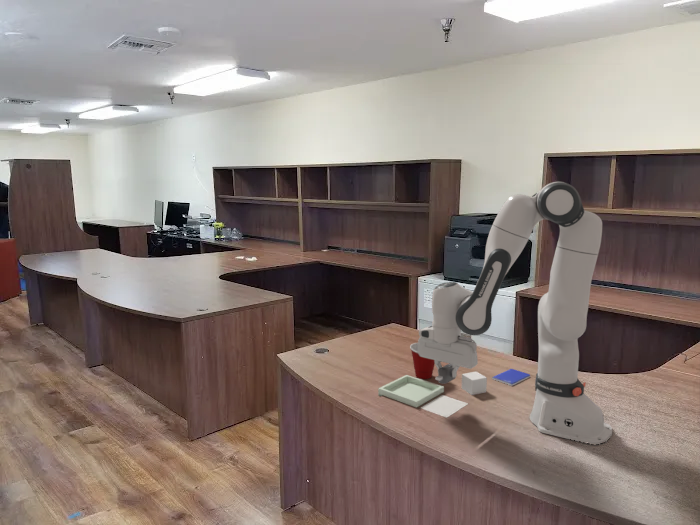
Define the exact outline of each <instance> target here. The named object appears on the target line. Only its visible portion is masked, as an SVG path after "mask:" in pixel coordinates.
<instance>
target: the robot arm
mask: <svg viewBox="0 0 700 525" xmlns="http://www.w3.org/2000/svg"><path fill="white" fill-rule="evenodd" d="M582 202H583V201H582V198H581V196H580V194H579V192H578V190H577V189H576V188H575V187H574V186H573V185H571V184H569V183H568V182H564V181H553V182H550V183H547V184H546V185H544V186H543V187H542V188H541V189H539V190H538V191H537V192H535V193H534V194H533V195H531V196H529V195H526V194H521V193H517V194H512V195H510V196H509V197H508V198H507V199H506V201H505V202H504V203H503V205H502V206H501V208H500V209H499V211H498V213H497V215H496V217H495V218H494V221H493V223H492V225H491V228H490V230H489V232H488V233H489V234H488V235H487V236H488V237H487V239H486V244H485V250H484V251H485V253H484V263H483V267H482V270H481V273H480V276H479V278H478V280H477V282H476V284H475V287H474V289H473V290H470V289H467V288H465V287H463V286H461V285H460V284H459V282H455V281H447V282H443V283H440V284H438V285H436V286H435V287H434V289H433V291H432V295H431V296H432V298H431V313H432V322H431V323H432V324H431V325H428V326H426V327H423V328H421V329H419V330H418V336H419V338H418V339H417V343H418V354H419V355H420V356H421V357H424V358H428V359H432V360H434V363H435V364H434V366H436V368H437V370H438V369H440V368H441V367H443V365H442V363H445V364H452V367H453V368H454V369H453V370H452V371H450V377H453V378H455V377H457V372H458V370H459V368H460V367H461V368H465V369H470V370H471V369H473V368H475V367H476V366H478V364H479V363H478V362H479V360H478V353H477V342H476V341H475V340H474V339H473V338H471V337H465V336H462V332H463V333H465V334H466V335H469V336H479V335H483V334H485V333H486V332H487V331H488V330H489V329H490V328H491V324H492V319H493V318H492V317H493V316H492V307H493V304H494V302H495V299H496V297H497V294H498V293H499V290H500V288H501V285H502V283H503V281H504V279H505V277H506V275H507V274H508V273H509V271H510V269H511V267H512V266H513V265H514V263H515V262H516V261H517V259H518V258H519V256H520V255H521V253H522V252H523V250H524V248H525V247H526V245H527V243H528V242H529V239H530V237H531V234H532V232H533V230H534V228H535V227H536V225H537V224H538V223H539V222H541V221H543V220H547V221H551V222H553V223H554V224H556V225H558V227H559V235H558V241H557V244H556V248H555V251H554V256H553V259H552V264H551V268H550V272H549V274H550V275H549V284H548V291H547V292H546V293H544V294H543V295H542V296H541V297H540V299H539V301H538V305H537V333H538V334H537V336H538V338H537V339H538V359H537V360H538V361H537V373H536V374H535V381H534V388H535V389H534V391H535V397H534V401H533V406H532V409H531V412H530V414H529V420H530V421H531V423H532V424H533V425H535V427H537V429H538V431H539V432H540V433H542V434H547V435H550V436H555V437H558V438H563V439H566V440H570V439H571V440H570V441H574V440H575V442H579V441H581V442H580V443H583V442H588V443H591V444H599V443H602V442H605V441H606V442H608V441H609V440H610V439H611V437H612V435H613V427H612V426H611V424H610V423H607V422H605V417H604V412H603V410H602V408H601V407H600V406H599V405H598V404H596V403H595V402H594V401H593V399H591V398H590V397H589V396H588V395H587V394H585V393H584V392H585V387H586V382H585V381H584V382H583V383H582V382H581V381H580V379H579V377H578V376H579V375H578V374H579V364H580V363H579V361H580V351H579V342H578V340H579V338H580V337H581V336H582V335H584V333H585V332H586V330H587V320H588V319H587V317H588V312H589V306H590V305H589V303H590V294H591V286H592V281H593V280H592V279H593V275H594V272H595V269H596V264H597V260H598V257H599V253H600V248H601V245H602V244H601V243H602V235H603V221H602V219H601V217H600V216H599V215H597V214H596V213H594V212H593V211H592V212H591V211H588V210H585V208H584V206H583V203H582ZM455 379H456V378H455ZM610 436H611V437H610ZM609 438H610V439H609ZM608 439H609V440H608ZM607 440H608V441H607ZM606 442H605V443H606ZM591 444H590V445H591ZM599 445H600V444H599Z"/></svg>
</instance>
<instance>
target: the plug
mask: <svg viewBox="0 0 700 525" xmlns="http://www.w3.org/2000/svg"><path fill="white" fill-rule="evenodd" d="M453 369H454V368H453V367H452V364H449V363H446V365H442V367H441V368H440V369H438V368H437V374H438V376H436V377H435V379H434V380H436V381H438V383H439V384H440V385H441V384H443V385H444V384H448V383H450V382H451V381H453V380H455V379H456V377H457V376H456V377H455V378H453V377H450V371H452V370H453Z"/></svg>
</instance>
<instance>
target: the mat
mask: <svg viewBox="0 0 700 525" xmlns="http://www.w3.org/2000/svg"><path fill="white" fill-rule="evenodd" d="M467 405H469V403H468V402H465V401H462V400H459V399H456V398H453V397H450V396H447V395H444V394H440V395H439V396H437V397H435V399H432V400H430V401H428V402H427V403H426V404H423V405H421V407H420V409H422V410H424V411H427V412H430V413H433V414H436V415H438V416H441V417H444V418H449V417H451V416H452V415H453V414H455V413H457V412H458V411H460V410H462V409H463V408H464V407H466V406H467Z"/></svg>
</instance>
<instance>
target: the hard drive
mask: <svg viewBox="0 0 700 525" xmlns="http://www.w3.org/2000/svg"><path fill="white" fill-rule="evenodd" d="M530 377H531V374H530V373H527V372H525V371H524V372H523V371H520V370H518V369H513V368H509V369H507V370H505V371H503V372H500V373H498V374H497V375H494V376H492V377H491V380H492V379H493V381H495V380H496V381H495V382H498V381H499V382H498V383H501V382H502V383H501V384H504V383H505V384H504V385H507V384H508V386H510V387H512V386H515V385H517V384H519V383H521V382H522V381H525V380H527V379H529V378H530Z"/></svg>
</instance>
